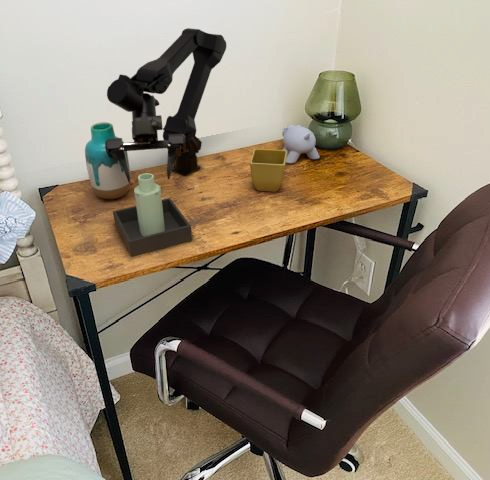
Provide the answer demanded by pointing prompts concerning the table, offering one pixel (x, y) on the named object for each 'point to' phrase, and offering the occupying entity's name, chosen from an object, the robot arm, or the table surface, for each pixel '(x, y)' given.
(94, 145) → the vase
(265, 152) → the flower pot
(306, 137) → the hippopotamus toy
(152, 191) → the bottle
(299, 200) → the table surface
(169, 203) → the bin
